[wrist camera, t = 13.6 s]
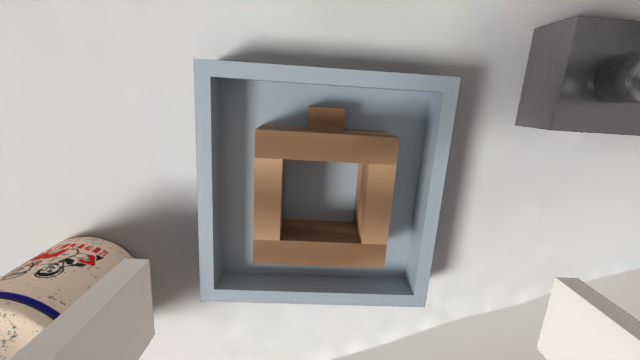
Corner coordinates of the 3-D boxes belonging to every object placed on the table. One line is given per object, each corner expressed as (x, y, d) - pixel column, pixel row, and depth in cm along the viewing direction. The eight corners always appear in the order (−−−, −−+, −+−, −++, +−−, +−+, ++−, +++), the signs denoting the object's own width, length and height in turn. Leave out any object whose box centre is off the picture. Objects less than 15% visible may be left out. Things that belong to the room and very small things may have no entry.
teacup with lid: (121, 217, 26) (-16, 307, 15) (169, 311, 29) (81, 451, 17) (-17, 262, 27) (-251, 383, 16) (40, 351, 29) (-127, 514, 18)
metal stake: (624, 36, 25) (831, -3, 15) (599, 130, 26) (771, 150, 17) (534, 28, 24) (687, -17, 15) (515, 125, 26) (640, 142, 16)
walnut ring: (372, 243, 27) (384, 268, 23) (260, 238, 26) (252, 263, 22) (387, 110, 24) (402, 113, 20) (263, 102, 24) (255, 104, 20)
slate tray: (439, 79, 25) (461, 77, 22) (410, 282, 29) (424, 307, 26) (209, 63, 24) (193, 58, 20) (212, 276, 28) (200, 301, 25)
